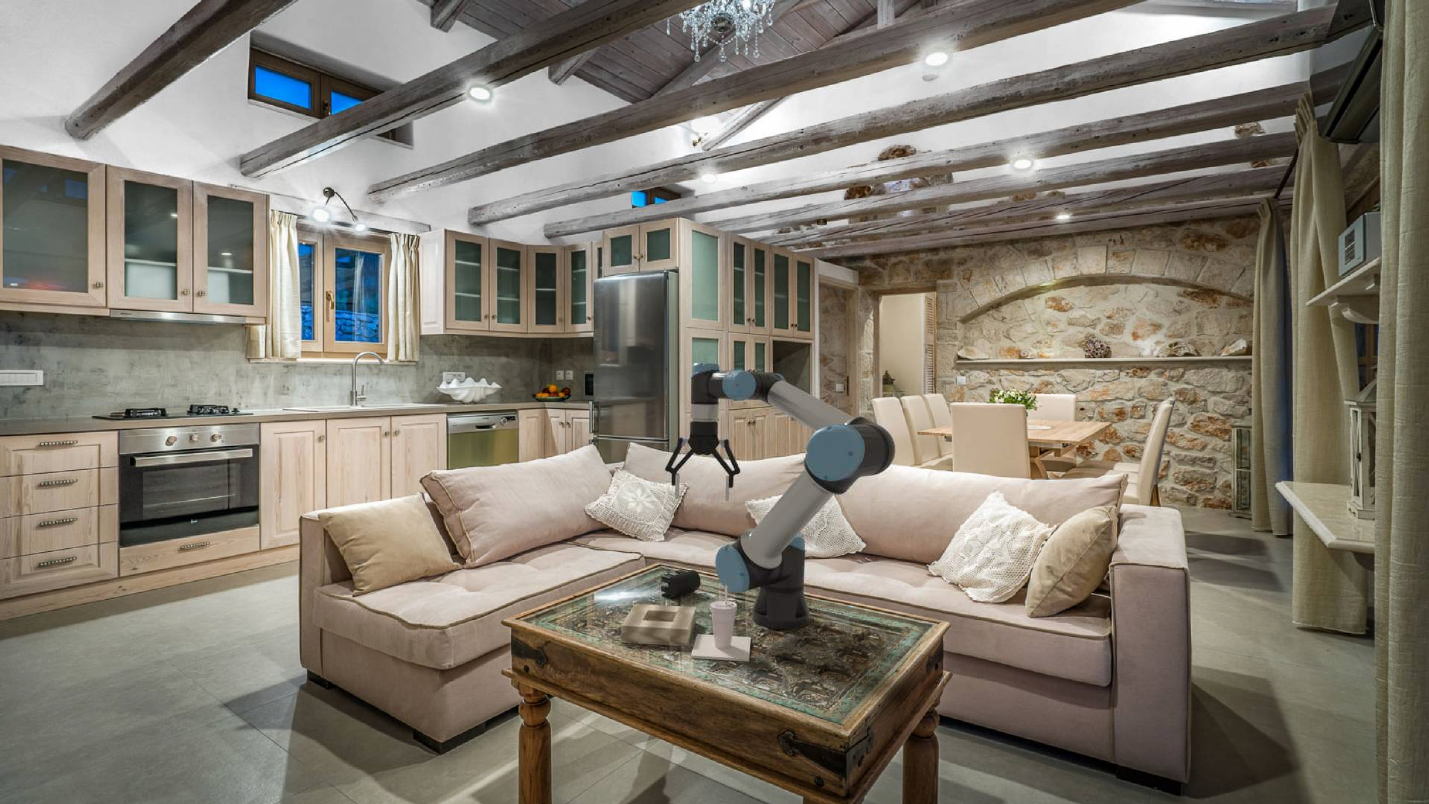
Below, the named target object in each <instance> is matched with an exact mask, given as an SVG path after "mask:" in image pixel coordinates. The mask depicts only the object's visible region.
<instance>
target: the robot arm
mask: <svg viewBox="0 0 1429 804" xmlns="http://www.w3.org/2000/svg"><path fill="white" fill-rule="evenodd" d="M690 375H691V377H690V414H689V415H690V417H689V418H690V419H691V421H690V422H689V437H688V438H684V437H683V436H681V437H678V439H677V443H676V447H675V449H674V451H673V453H672V455H671V457H670V459H669V460H668V462H667V464H666V466H665V468H664V471H665V472H668V473H670V474H671V486H673V487H675V488H674V499H676V500H677V499H679V498H680V475H681V473H678V471H680V470H681V468H682V467H683V466H684V465H685V464H686V463H687V461H688V460H689V459H690V458H691V457H692V456H693V454H695V455H697V456H701V455H703V456H710V455H712V456H713V458H715V459H716V461H717V462H718V464H720V466H721V467H722V468H723V470H725V472H726V473H727V475H726V476H725V498H724V499H725V502H728V501H729V499H730V489H733V488H734V479H735V478H734V477H735V476H736V475H739V474H741V468H740V466H739V464H738V462H737V460H736V458H735V456H734V454H733V451H732V449H731V446H730V440H729V438H725V439H719V438H718V435H719V433H718V431H719V423H718V421H717V420H718V419H719V404H720V402H719V400H733V401H743V400H746V401H749V400H750V401H752V400H753V401H762V402H763V403H765V404H767V405H768V406H770V407H773V408H775V409H776V410H778V411H779V412H781V413H783V414H785V415H786V416H788V417H790V418H791V419H794V420H796V421H797V422H799V423H800V424H802V425H804V426H805V427H807V428H809V429H811V430H812V431H814V433H813V434H812V435H811V436H810V438H809V439H808V441H807V444H806V448H805V450H806V452H805V458H804V459H803V468H804V470H803V471H802V472H800V474H799V475H798V477H796V479H795V480H794V481H793V482H792V484H791V485H790V486H789V487H788V488H787V490H786V491H785V492H784V493H783V494H782V496H781V497H780V498H779V499H778V500H777V501H776V503H774V505H773V506H772V507H771V509H770V510H768V512H767V513H766V515H765V516H764V517H763V518H761V520H760V522H758V524H757V525H756V527H755V528H748V529H745V530H744V531H743V532H742V533H741V534H740V536H739V537H738V538H737V540H736V541H735V542H734V543H731V544H724V546H721V547H720V548H719V549H718V550H717V552H716V555H715V559H714V564H715V565H714V566H715V572H716V576H717V577H718V580H719V582H720V583H721V585H722V586H723V587H724V588H725V586H728V587H727V592H731V593H733V594H738V593H746V592H747V591H751V590H756V589H759V590H758V593H757V595H756V599H755V601H754V604H753V607H752V610H751V611H752V612H751V613H752V615H751V618H752V621H754V622H755V623H757V625H760V626H762V627H766V628H771V629H776V630H777V629H778V630H795V629H799V628H800V629H801V628H803V627H802V626H804V627H805V625H806V626H808V625H809V624H810V621H809V620H811V619H810V617H811V616H810V614H811V613H810V609H809V606H808V602H807V598H806V594H805V589H804V588H805V566H806V565H805V561H806V559H805V558H806V552H807V551H806V541H805V538H804V537H803V536H802V535H801V534H800V533H801V531H803V529H804V528H805V527H806V526H807V525H808V524H809V523H810V521H812V519H813V518H814V517H815V516H816V515H817V514H818V513H819V512H820V511H821V510H822V508H823V507H824V506H825V505H826V504H827V503H828V501H829V500H831V498H832V497H833V496H835V495H836V496H840V495H844V494H845V493H846V492H847V491H849V489H850V488H851V487H852V486H853V485H854V484H855V483H856V482H857V481H858V479H860V478H861V477H871V476H877V475H880V474H882V473H883V472H885V471H886V470H887V469H888V468H889V467H891V465H892V463H893V461H894V459H895V455H896V445H895V440H894V438H893V437H892V434H890V432H889V431H888V430H887V429H886V428H885V427H883V426H882V425H880V424H878V423H876V422H874V421H871V420H869V419H867V418H866V417H864V416H861V415H860V416H859V415H858V416H856V417H854V416H852V415H850V414H848V413H847V412H845V411H843V410H841V409H839V408H838V407H835V406H833V405H832V404H829V403H828V402H825V401H823V400H821V399H820V398H818V397H816V396H813V395H812V394H809V393H808V392H806V391H804V390H802V389H800V388H798V387H797V386H795V385H793V384H792V383H791V384H790V383H789V382H787V380H786V379H785V377H784V376H783V375H782V374H780V373H776V372H772V371H769V372H768V371H767V372H763V371H748V370H742V369H731V370H730V369H729V370H721V369H720V365H719V364H718V363H715V362H713V363H712V362H696V363H694V364H692V367H691V374H690ZM686 444H687V445H688V446H689V447H690V450H689V451H688V452H686V455H684V456H683V458H681V460H680V461H679V462H678V463H677V464H676V466H674V467H673V465H674V463H675V462H676V460H677V458H678V457H679V454H680V452H681V451H682V448H683V447H685V446H686ZM719 445H720V446H721V447H722V448H724V450H725V452H726V454H727V456H728V459H729V461H730V463H731V465H732V467H733V469H732V468H731V466H730V465H729V464H728V463H727V461H726V460H725V459H724V457H722V455H721V454H720V452H718V450H717V447H718V446H719Z"/></svg>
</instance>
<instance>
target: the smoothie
mask: <svg viewBox="0 0 1429 804" xmlns="http://www.w3.org/2000/svg"><path fill="white" fill-rule="evenodd" d="M727 587H728V586H725V587H724V600H716V601H712V602H710V603H709V610H710V611H711V620H712V621H711V622H712V631H713V635H714V643H715V647H716V648H718V649H728V648H730V647H731V640H732V636H733V632H734V625H735V618H736V612H737V611H738V604H737V603H736V602H733V601H730V600H728V590H727Z"/></svg>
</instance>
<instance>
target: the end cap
mask: <svg viewBox="0 0 1429 804" xmlns="http://www.w3.org/2000/svg"><path fill="white" fill-rule="evenodd" d="M660 581H661V582H662V583H665V584H667V586H665V585H660V591H661V592H662V593H661V597H663V598H666V599H669V600H673V599H677V598H680V597H683V596H686V595H689V594H692V593H695V592H696V591H697V590H699V589H700V587H701V584H702V582H701V577H700V574H699V572H698V571H696V570H695V569H691V570H683V569H679V570H676V571H675V574H672V573H670V572H668V573H664V574H662V575H661V579H660Z"/></svg>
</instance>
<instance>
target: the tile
mask: <svg viewBox="0 0 1429 804" xmlns="http://www.w3.org/2000/svg"><path fill="white" fill-rule="evenodd" d="M750 651H751V637H750V636H735V635H732V640H731V647H730V648H728V649H718V648H716V647H715V643H714V634H704V633H703V634H702V633H697V634H696V637H695V640H694V645H693V647H692V651H691V654H690V658H691V659H699V660H700V659H701V660H702V659H703V660H717V661H718V660H719V661H720V660H721V661H732V662H733V661H734V662H748V663H749V662H750Z"/></svg>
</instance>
